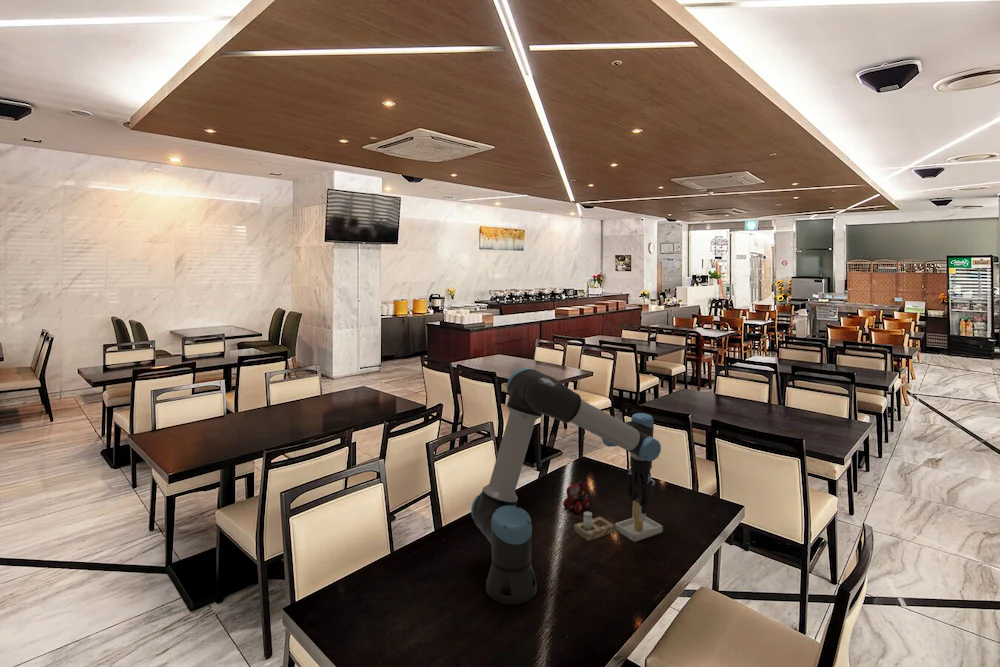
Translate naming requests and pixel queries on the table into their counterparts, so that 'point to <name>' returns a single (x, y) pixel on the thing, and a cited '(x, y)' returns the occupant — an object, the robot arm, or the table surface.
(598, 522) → the socket block
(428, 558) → the table surface
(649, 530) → the tray
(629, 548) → the table surface
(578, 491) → the toy fire truck
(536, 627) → the table surface
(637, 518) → the cylinder
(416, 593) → the table surface
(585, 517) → the fuse
